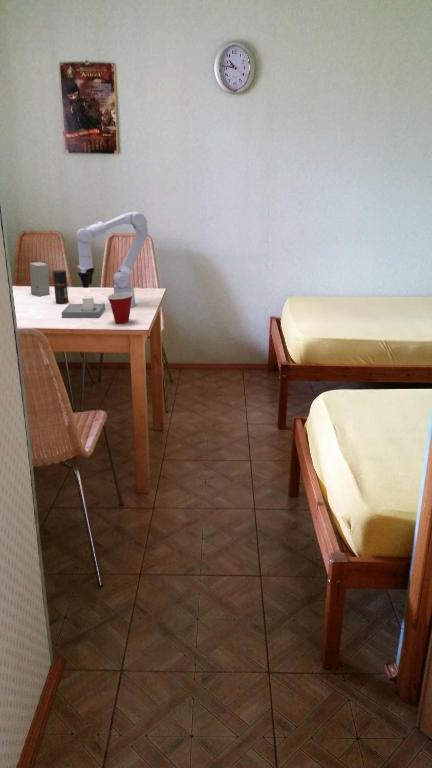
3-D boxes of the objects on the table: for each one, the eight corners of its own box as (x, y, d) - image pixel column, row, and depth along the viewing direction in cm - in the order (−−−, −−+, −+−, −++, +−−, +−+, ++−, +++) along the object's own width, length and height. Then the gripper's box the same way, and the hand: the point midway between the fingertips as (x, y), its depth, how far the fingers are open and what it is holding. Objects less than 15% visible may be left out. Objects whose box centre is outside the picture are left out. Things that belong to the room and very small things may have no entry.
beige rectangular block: (94, 314, 277) (93, 296, 274) (92, 316, 273) (91, 298, 270) (85, 314, 277) (84, 296, 274) (83, 316, 273) (82, 298, 270)
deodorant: (65, 304, 294) (62, 272, 289) (53, 303, 295) (50, 272, 290) (70, 301, 300) (67, 270, 295) (59, 301, 301) (56, 270, 296)
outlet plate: (105, 309, 285) (104, 303, 284) (98, 317, 270) (98, 312, 269) (70, 309, 285) (70, 303, 285) (62, 317, 270) (61, 312, 270)
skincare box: (30, 294, 315) (27, 263, 310) (43, 292, 320) (40, 261, 314) (38, 296, 309) (35, 265, 304) (51, 294, 314) (48, 263, 308)
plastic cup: (109, 319, 268) (107, 291, 264) (134, 318, 269) (133, 291, 265) (107, 325, 258) (105, 297, 254) (133, 325, 259) (131, 297, 255)
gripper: (79, 253, 286) (81, 282, 291) (73, 258, 272) (75, 289, 277) (94, 253, 286) (96, 282, 291) (89, 258, 272) (91, 289, 277)
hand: (87, 285), depth 284 cm, fingers open, 7 cm apart
